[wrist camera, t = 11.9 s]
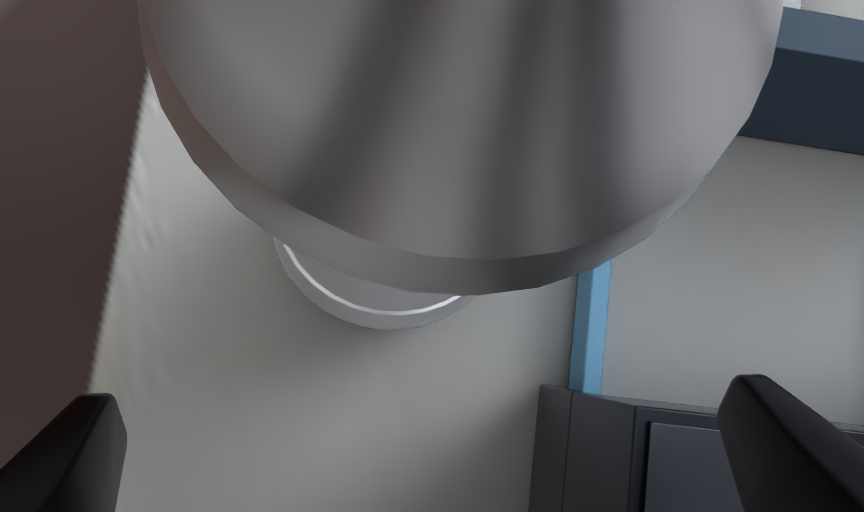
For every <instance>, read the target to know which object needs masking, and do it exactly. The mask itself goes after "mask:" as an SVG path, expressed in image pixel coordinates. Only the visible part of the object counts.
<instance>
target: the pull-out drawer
mask: <svg viewBox="0 0 864 512" xmlns="http://www.w3.org/2000/svg"><path fill="white" fill-rule="evenodd" d="M737 134H738V135H744V136H750V137H757V138H763V139H769V140H775V141H782V142H788V143H794V144H801V145H807V146H813V147H820V148H826V149H832V150H839V151H845V152H851V153H858V154H864V21H863V20H857V19H852V18H846V17H841V16H835V15H829V14H824V13H818V12H812V11H807V10H801V0H784V2H783V13H782V17H781V22H780V27H779V32H778V37H777V42H776V47H775V51H774V56H773V61H772V66H771V68H770V70H769V73H768V75H767V77H766V80H765V82H764V84H763V86H762V89H761V91H760V93H759V96H758V98H757V100H756V103H755V105H754V107H753V109H752V112H751V114H750V116H749V118H748V119H747V121H746V122H745V123H744V125H743V126H742V128H741V129H740V130H739V132H738V133H737ZM610 271H611V259H610V260H609V261H607V262H605V263H604V264H602V265H600V266H598V267H597V268H594V269H591V270H588V271H585V272H582V273H579V275H578V286H577V298H576V309H575V320H574V332H573V343H572V354H571V366H570V377H569V388H568V389H571V390H576V391H581V392H586V393H590V394H598V395H600V394H601V382H602V370H603V357H604V345H605V333H606V321H607V308H608V296H609V284H610Z"/></svg>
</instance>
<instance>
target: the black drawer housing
mask: <svg viewBox="0 0 864 512" xmlns="http://www.w3.org/2000/svg"><path fill="white" fill-rule="evenodd" d="M717 413H718V409H717V408H709V407H700V406H692V405H683V404H675V403H666V402H658V401H649V400H641V399H632V398H624V397H615V396H607V395H598V394H590V393H586V392H581V391H576V390H571V389H567V388H562V387H557V386H549V385H541V386H540V393H539V404H538V414H537V425H536V436H535V446H534V457H533V467H532V478H531V488H530V499H529V510H528V512H744V509H743V506H742V503H741V499H740V496H739V493H738V490H737V486H736V483H735V480H734V476H733V473H732V470H731V466H730V463H729V460H728V457H727V453H726V450H725V447H724V443H723V440H722V437H721V434H720V430H719V427H718V422H717ZM830 423H831V424H833V425H834V426H836V427H837V428H838V429H840V430H841V431H842V432H844V433H845V434H847V435H848V436H849V437H851V438H852V439H853V440H855V441H856V442H857V443H859V444H860V445H862V446H863V447H864V426H861V425H853V424H844V423H836V422H830Z"/></svg>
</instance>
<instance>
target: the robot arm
mask: <svg viewBox="0 0 864 512" xmlns="http://www.w3.org/2000/svg"><path fill="white" fill-rule="evenodd" d="M717 422H718V427H719V430H720V434H721V437H722V440H723V443H724V447H725V450H726V453H727V457H728V460H729V463H730V466H731V470H732V473H733V476H734V480H735V483H736V486H737V490H738V493H739V496H740V499H741V503H742V506H743V509H744V512H864V447H863V446H862V445H860V444H859V443H857V442H856V441H855V440H853V439H852V438H851V437H849V436H848V435H847V434H845V433H844V432H842V431H841V430H840V429H838V428H837V427H836V426H834V425H833V424H831V423H830V422H829V421H827V420H826V419H825V418H823V417H822V416H821V415H819V414H818V413H816V412H815V411H814V410H812V409H811V408H810V407H808V406H807V405H806V404H804V403H803V402H801V401H800V400H799V399H797V398H796V397H795V396H793V395H792V394H791V393H789V392H788V391H786V390H785V389H784V388H782V387H781V386H780V385H778V384H777V383H775V382H774V381H773V380H771V379H770V378H768V377H767V376H765V375H761V374H745V375H737V376H736V377H735V378H733V380H732V381H731V383H730V386H729V388H728V390H727V392H726V394H725V396H724V398H723V400H722V402H721V404H720V406H719V409H718V413H717ZM126 447H127V432H126V428H125V425H124V422H123V419H122V416H121V413H120V410H119V407H118V404H117V401H116V399H115V397H114V396H113V395H112V394H110V393H87V394H82V395H80V396H78V397H76V398H75V399H74V400H73V401H72V402H71V403H70V404H69V405H68V406H66V407H65V408H64V410H62V411H61V412H60V413H59V414H58V415H57V416H56V417H55V418H54V419H53V420H52V421H51V422H50V423H49V424H48V425H46V426H45V427H44V429H42V430H41V431H40V432H39V433H38V434H37V435H36V436H35V437H34V438H33V439H32V440H31V441H30V442H29V443H28V444H27V445H26V446H25V447H23V448H22V449H21V450H20V451H19V452H18V453H17V454H16V455H15V456H14V457H13V458H12V459H11V460H10V461H9V462H8V463H7V464H5V466H3V467H2V468H1V469H0V512H115V508H116V502H117V497H118V491H119V486H120V480H121V475H122V469H123V464H124V459H125V453H126Z"/></svg>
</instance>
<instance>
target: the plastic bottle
mask: <svg viewBox="0 0 864 512" xmlns="http://www.w3.org/2000/svg"><path fill="white" fill-rule="evenodd" d="M783 2H784V0H138V8H139V19H140V28H141V40H142V50H143V53H144V56H145V59H146V62H147V65H148V68H149V71H150V74H151V77H152V80H153V83H154V86H155V89H156V93H157V96H158V99H159V102H160V105H161V108H162V109H163V111H164V113H165V114H166V116H167V118H168V120H169V121H170V123H171V125H172V126H173V128H174V130H175V131H176V133H177V135H178V136H179V138H180V140H181V142H182V143H183V145H184V147H185V148H186V150H187V152H188V153H189V155H190V157H191V158H192V160H193V162H194V163H195V164H196V165H197V166H198V167H199V168H200V169H201V170H202V172H203V173H204V174H205V175H206V176H207V177H208V178H209V179H210V180H211V181H212V183H213V184H214V185H215V186H216V187H217V188H218V189H219V190H220V191H221V192H222V193H223V195H224V196H225V197H226V198H227V199H228V200H229V201H230V202H231V203H232V204H233V206H234V207H235V208H236V209H237V210H239V211H240V212H242V213H243V214H244V215H246V216H247V217H248V218H250V219H251V220H252V221H254V222H255V223H257V224H258V225H259V226H261V227H262V228H263V229H265V230H266V231H267V232H269V233H270V234H272V235H273V241H274V244H275V247H276V250H277V253H278V256H279V259H280V262H281V264H282V265H283V267H284V269H285V270H286V272H287V274H288V275H289V277H290V279H291V280H292V282H293V283H294V284H295V285H296V286H297V287H298V288H299V290H300V291H301V292H302V293H303V294H304V295H305V296H306V297H307V298H308V299H309V300H310V301H312V302H313V303H314V304H316V305H317V306H318V307H320V308H321V309H323V310H324V311H325V312H327V313H329V314H331V315H333V316H335V317H337V318H339V319H341V320H344V321H346V322H348V323H351V324H355V325H359V326H363V327H367V328H371V329H389V330H398V329H405V328H413V327H419V326H422V325H425V324H428V323H431V322H434V321H437V320H440V319H442V318H444V317H446V316H447V315H449V314H451V313H453V312H454V311H456V310H458V309H460V308H461V307H462V306H463V305H465V304H466V303H467V302H468V301H469V300H470V299H472V298H473V297H474V296H475V295H483V294H491V293H499V292H506V291H514V290H522V289H530V288H537V287H541V286H544V285H547V284H550V283H553V282H556V281H559V280H562V279H565V278H568V277H571V276H573V275H576V274H579V273H582V272H585V271H588V270H591V269H594V268H597V267H598V266H600V265H602V264H604V263H605V262H607V261H609V260H610V259H612V258H614V257H616V256H617V255H619V254H621V253H622V252H624V251H626V250H628V249H629V248H631V247H633V246H635V245H636V244H638V243H640V242H641V241H643V240H645V239H647V238H648V237H649V236H650V235H651V234H652V233H653V232H654V231H655V230H657V229H658V228H659V227H660V226H661V225H662V224H663V223H664V222H665V221H667V220H668V219H669V218H670V217H671V216H672V215H673V214H674V213H676V212H677V211H678V210H679V209H680V208H681V207H682V206H683V205H684V204H686V203H687V202H688V201H689V199H690V198H691V197H692V195H693V194H694V193H695V191H696V190H697V188H698V187H699V186H700V184H701V183H702V181H703V180H704V179H705V177H706V176H707V175H708V173H709V172H710V170H711V169H712V168H713V166H714V165H715V164H716V162H717V161H718V159H719V158H720V157H721V155H722V154H723V153H724V151H725V150H726V148H727V147H728V146H729V144H730V143H731V141H732V140H733V139H734V137H735V136H736V134H737V133H738V132H739V130H740V129H741V128H742V126H743V125H744V123H745V122H746V121H747V119H748V118H749V116H750V114H751V112H752V109H753V107H754V105H755V103H756V100H757V98H758V96H759V93H760V91H761V89H762V86H763V84H764V82H765V80H766V77H767V75H768V73H769V70H770V68H771V66H772V61H773V56H774V51H775V47H776V42H777V37H778V32H779V27H780V22H781V17H782V13H783Z"/></svg>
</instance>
